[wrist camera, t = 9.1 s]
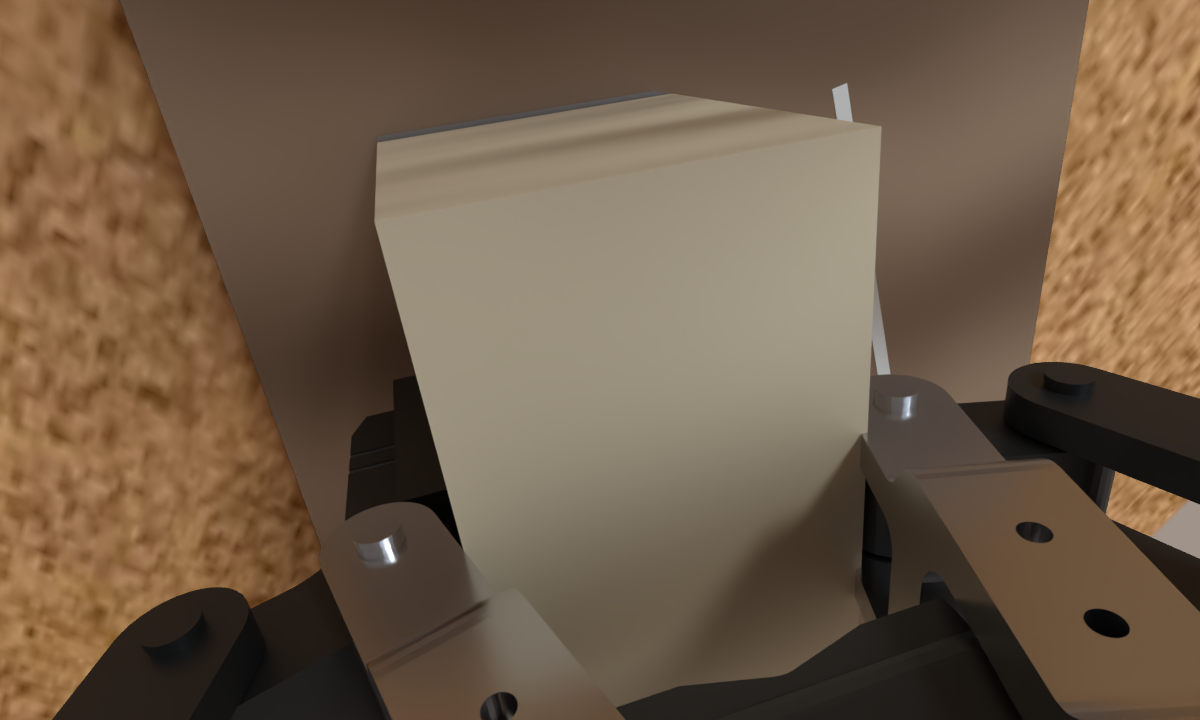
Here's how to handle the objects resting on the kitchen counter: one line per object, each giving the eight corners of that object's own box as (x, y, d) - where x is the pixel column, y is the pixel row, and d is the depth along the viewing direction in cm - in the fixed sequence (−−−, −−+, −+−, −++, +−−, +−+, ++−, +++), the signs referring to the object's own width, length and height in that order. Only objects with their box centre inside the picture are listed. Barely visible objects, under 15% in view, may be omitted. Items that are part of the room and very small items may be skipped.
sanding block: (377, 136, 11) (374, 221, 5) (653, 90, 12) (881, 125, 6) (491, 581, 15) (553, 881, 9) (692, 522, 16) (852, 766, 10)
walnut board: (44, -300, 9) (-14, -360, 8) (1067, -334, 12) (1152, -380, 11) (407, 733, 18) (409, 788, 16) (953, 558, 21) (992, 592, 20)
